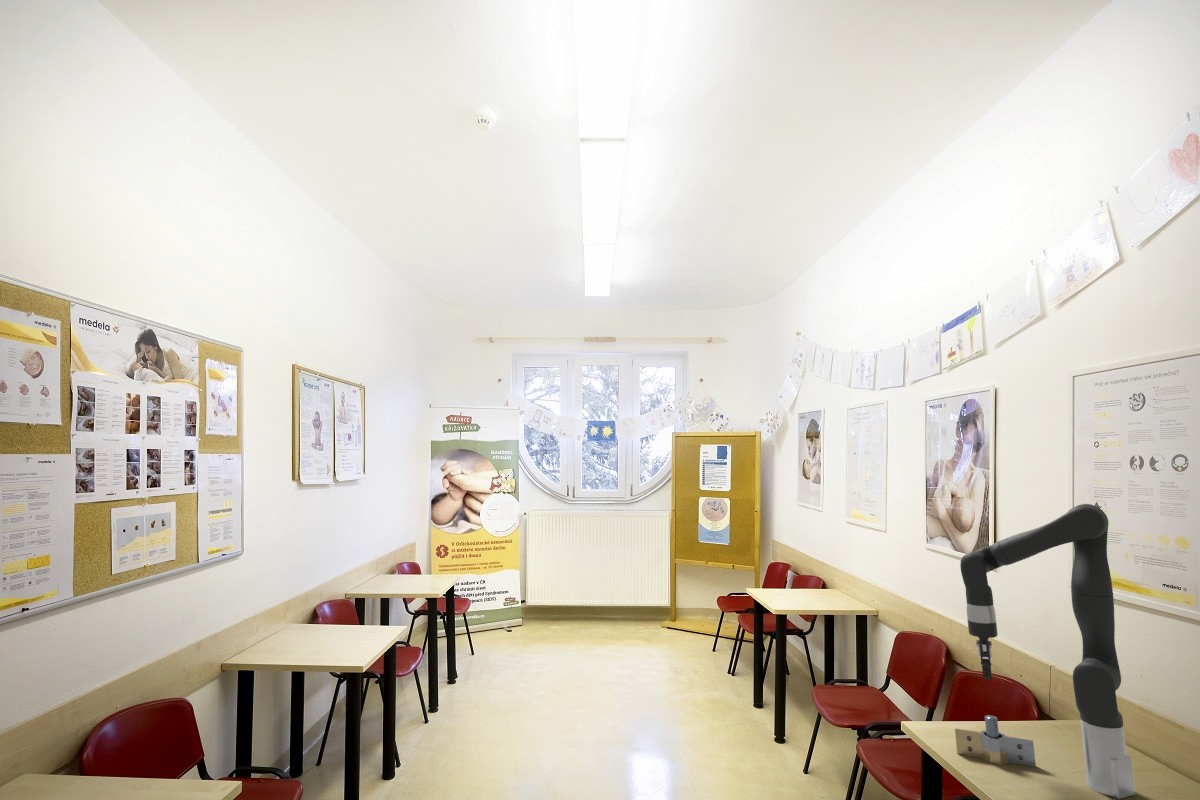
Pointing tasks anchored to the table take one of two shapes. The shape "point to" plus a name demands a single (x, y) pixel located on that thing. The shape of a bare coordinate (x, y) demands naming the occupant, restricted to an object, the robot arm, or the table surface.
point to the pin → (991, 726)
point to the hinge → (995, 748)
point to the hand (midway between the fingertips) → (987, 674)
